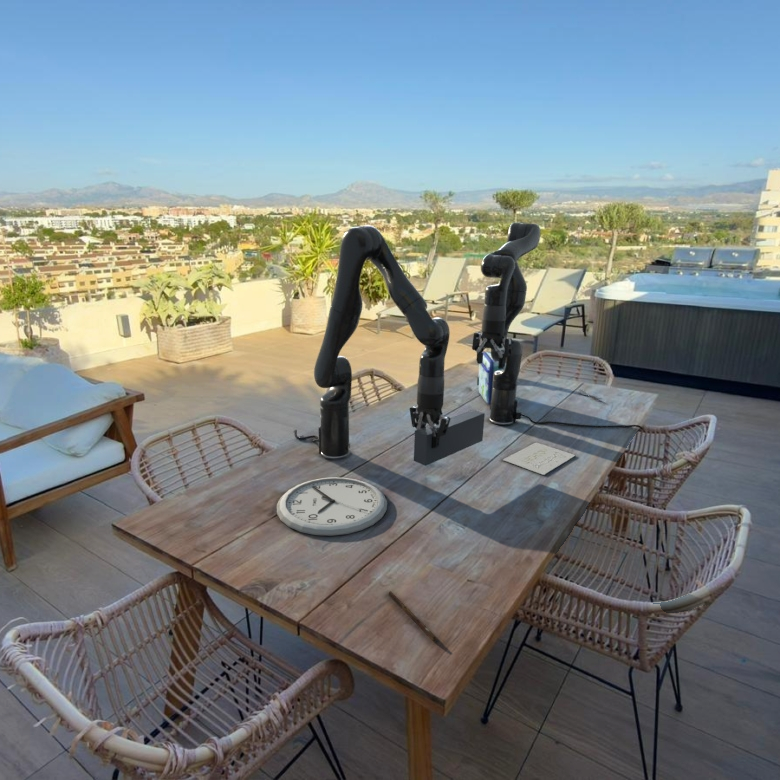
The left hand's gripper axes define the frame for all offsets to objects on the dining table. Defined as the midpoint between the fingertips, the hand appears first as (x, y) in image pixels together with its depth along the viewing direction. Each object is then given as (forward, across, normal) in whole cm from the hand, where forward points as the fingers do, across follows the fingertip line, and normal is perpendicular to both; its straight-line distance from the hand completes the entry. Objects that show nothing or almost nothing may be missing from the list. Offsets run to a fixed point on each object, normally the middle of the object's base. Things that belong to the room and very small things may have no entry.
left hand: (427, 444), depth 153 cm
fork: (+12, -5, +118) cm, 118 cm away
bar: (+5, 0, +10) cm, 12 cm away
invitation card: (+12, +14, +41) cm, 45 cm away
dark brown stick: (+12, +36, -44) cm, 58 cm away
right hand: (-16, -6, +37) cm, 41 cm away
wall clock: (+13, -9, -29) cm, 33 cm away
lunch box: (+12, -34, +81) cm, 89 cm away
